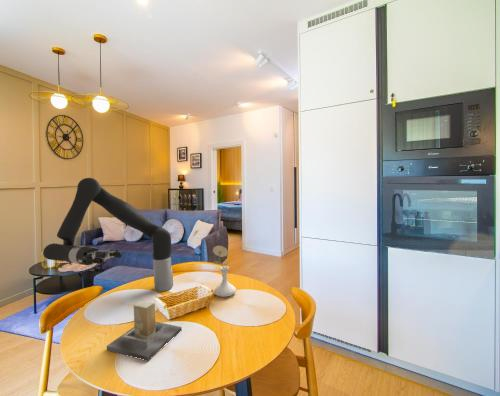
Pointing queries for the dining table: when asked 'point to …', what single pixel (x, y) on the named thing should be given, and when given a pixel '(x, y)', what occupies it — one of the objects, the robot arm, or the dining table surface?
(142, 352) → the holder board
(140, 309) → the skincare box
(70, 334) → the dining table surface
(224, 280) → the flower in vase
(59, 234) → the robot arm
